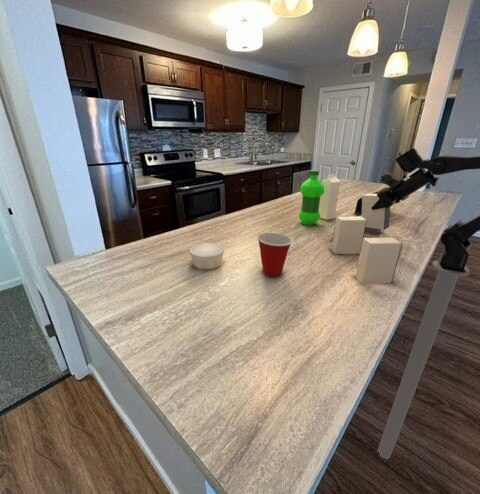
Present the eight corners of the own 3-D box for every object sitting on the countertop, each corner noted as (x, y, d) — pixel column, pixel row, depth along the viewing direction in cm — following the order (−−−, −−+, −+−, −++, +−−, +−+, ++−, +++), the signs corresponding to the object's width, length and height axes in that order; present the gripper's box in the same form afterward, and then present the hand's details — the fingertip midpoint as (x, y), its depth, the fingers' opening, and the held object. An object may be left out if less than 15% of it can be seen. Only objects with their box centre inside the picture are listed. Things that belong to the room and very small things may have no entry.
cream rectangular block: (389, 227, 103) (391, 194, 100) (384, 229, 101) (386, 196, 97) (366, 224, 110) (367, 193, 107) (361, 226, 108) (362, 195, 104)
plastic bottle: (298, 219, 132) (303, 168, 123) (320, 221, 129) (327, 169, 120) (295, 225, 124) (300, 171, 114) (318, 228, 120) (326, 172, 111)
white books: (355, 249, 99) (361, 216, 94) (391, 283, 77) (402, 243, 72) (331, 249, 99) (336, 216, 94) (361, 284, 77) (370, 243, 72)
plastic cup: (297, 275, 81) (301, 239, 77) (268, 284, 76) (271, 247, 72) (276, 261, 90) (278, 228, 85) (249, 268, 85) (250, 234, 80)
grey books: (380, 231, 117) (383, 218, 115) (353, 247, 101) (356, 232, 98) (360, 226, 123) (363, 214, 121) (332, 240, 107) (334, 226, 105)
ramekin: (187, 258, 91) (186, 245, 89) (218, 254, 95) (218, 240, 93) (194, 274, 82) (193, 259, 80) (228, 268, 85) (228, 253, 83)
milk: (317, 217, 136) (322, 173, 127) (325, 215, 139) (331, 172, 130) (326, 220, 131) (332, 175, 123) (335, 218, 134) (341, 174, 126)
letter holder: (387, 211, 146) (393, 185, 141) (372, 218, 134) (378, 191, 128) (369, 207, 153) (374, 183, 148) (354, 214, 141) (358, 188, 135)
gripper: (407, 163, 100) (372, 188, 111) (388, 167, 88) (351, 194, 100) (425, 187, 97) (387, 209, 109) (409, 194, 86) (368, 219, 97)
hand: (374, 207), depth 104 cm, fingers closed on cream rectangular block, 4 cm apart
